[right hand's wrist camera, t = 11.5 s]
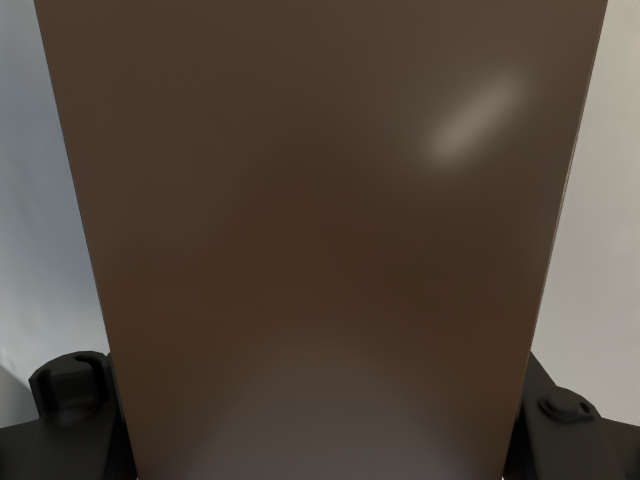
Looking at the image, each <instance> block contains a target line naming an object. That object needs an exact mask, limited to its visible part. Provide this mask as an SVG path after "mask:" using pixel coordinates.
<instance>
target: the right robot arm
mask: <svg viewBox="0 0 640 480" xmlns="http://www.w3.org/2000/svg"><path fill="white" fill-rule="evenodd" d="M28 381H29V384H30V387H31V390H32V394H33V397H34V400H35V403H36V407H37V410H38V413H39V419H37V420H34V421H30V422H27V423H22V424H18V425H13V426H9V427H5V428H0V480H137V478H138V475H137V471H136V466H135V461H134V457H133V452H132V448H131V443H130V439H129V434H128V429H127V425H126V420H125V416H124V411H123V407H122V402H121V397H120V393H119V388H118V384H117V379H116V375H115V370H114V365H113V361H112V356H111V353H109V354H108V355H107V356H105V355H104V354H103V353H99V352H95V351H78V352H74V353H70V354H66V355H62V356H60V357H58V358H55V359H53V360H51V361H49V362H47V363H46V364H44V365H43V366H41V367H40V368H39V369H37V370H36V371H35V372H34V373H33V375H32V376H31V377H30V378H29V380H28ZM503 478H504V480H640V427H639V426H635V425H630V424H626V423H622V422H617V421H613V420H609V419H606V418H602V417H601V416H600V414H599V413H598V411H597V410H596V408H595V407H594V406H593V405H592V404H591V403H590V402H589V401H587V400H586V399H585V398H584V397H582V396H580V395H578V394H576V393H574V392H572V391H571V390H569V389H565V388H562V387H558V386H556V384H555V383H554V382H553V380H552V379H551V378H550V376H549V375H548V374H547V372H546V371H545V370H544V368H543V367H542V366H541V364H540V363H539V362H538V360H537V359H536V358H535V356H534V355H533V353H532V352H531V351H530V354H529V359H528V363H527V368H526V372H525V377H524V381H523V386H522V390H521V395H520V399H519V404H518V408H517V413H516V417H515V422H514V426H513V431H512V435H511V440H510V444H509V449H508V453H507V458H506V462H505V467H504V471H503Z"/></svg>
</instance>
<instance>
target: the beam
mask: <svg viewBox="0 0 640 480" xmlns="http://www.w3.org/2000/svg"><path fill="white" fill-rule="evenodd" d="M607 2H608V0H34V5H35V9H36V14H37V18H38V23H39V27H40V32H41V36H42V41H43V46H44V50H45V55H46V59H47V64H48V68H49V73H50V78H51V82H52V87H53V91H54V96H55V100H56V105H57V110H58V114H59V119H60V123H61V128H62V132H63V137H64V142H65V146H66V151H67V155H68V160H69V164H70V169H71V174H72V178H73V183H74V187H75V192H76V196H77V201H78V206H79V210H80V215H81V219H82V224H83V228H84V233H85V238H86V242H87V247H88V251H89V256H90V260H91V265H92V269H93V274H94V279H95V283H96V288H97V292H98V297H99V301H100V306H101V311H102V315H103V320H104V324H105V329H106V333H107V338H108V343H109V347H110V352H111V356H112V361H113V365H114V370H115V375H116V379H117V384H118V388H119V393H120V397H121V402H122V407H123V411H124V416H125V420H126V425H127V429H128V434H129V439H130V443H131V448H132V452H133V457H134V461H135V466H136V471H137V475H138V480H502V476H503V471H504V467H505V462H506V458H507V453H508V449H509V444H510V440H511V435H512V431H513V426H514V422H515V417H516V413H517V408H518V404H519V399H520V395H521V390H522V386H523V381H524V377H525V372H526V368H527V363H528V359H529V354H530V350H531V345H532V340H533V336H534V331H535V327H536V322H537V318H538V313H539V309H540V304H541V300H542V295H543V291H544V286H545V282H546V277H547V273H548V268H549V264H550V259H551V255H552V250H553V246H554V241H555V237H556V232H557V228H558V223H559V219H560V214H561V210H562V205H563V201H564V196H565V192H566V187H567V183H568V178H569V174H570V169H571V165H572V160H573V156H574V151H575V147H576V142H577V138H578V133H579V129H580V124H581V120H582V115H583V111H584V106H585V101H586V97H587V92H588V88H589V83H590V79H591V74H592V70H593V65H594V61H595V56H596V52H597V47H598V43H599V38H600V34H601V29H602V25H603V20H604V16H605V11H606V7H607Z"/></svg>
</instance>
